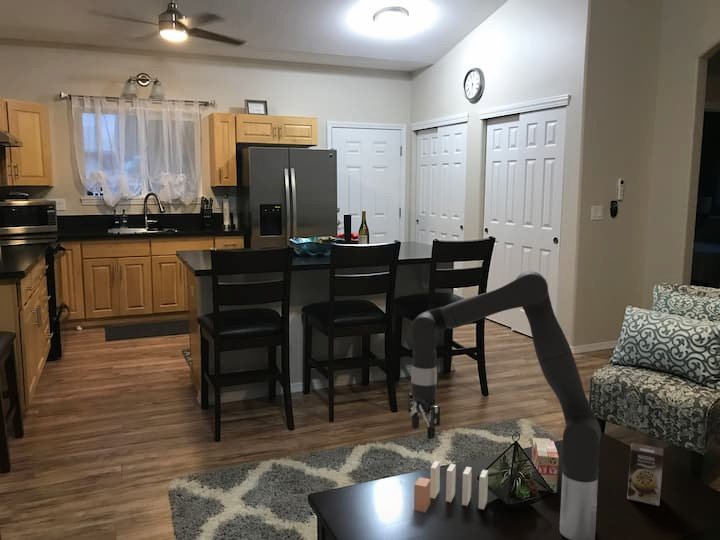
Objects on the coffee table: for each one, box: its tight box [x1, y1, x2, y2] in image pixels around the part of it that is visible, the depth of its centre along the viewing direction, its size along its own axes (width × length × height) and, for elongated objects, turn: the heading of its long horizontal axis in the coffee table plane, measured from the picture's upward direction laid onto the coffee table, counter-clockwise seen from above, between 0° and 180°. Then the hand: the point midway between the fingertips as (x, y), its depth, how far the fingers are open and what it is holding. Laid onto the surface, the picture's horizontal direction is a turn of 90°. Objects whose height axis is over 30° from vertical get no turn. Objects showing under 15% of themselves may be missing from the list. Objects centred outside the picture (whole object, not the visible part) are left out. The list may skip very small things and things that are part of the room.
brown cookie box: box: [626, 442, 665, 507], centre depth 180 cm, size 9×6×16 cm
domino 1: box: [413, 476, 431, 513], centre depth 174 cm, size 4×5×8 cm
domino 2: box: [429, 460, 441, 500], centre depth 181 cm, size 2×5×10 cm, turn 157°
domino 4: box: [461, 466, 473, 507], centre depth 178 cm, size 2×5×10 cm, turn 157°
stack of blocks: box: [531, 437, 560, 494], centre depth 193 cm, size 21×6×12 cm, turn 168°
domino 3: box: [445, 463, 457, 503], centre depth 179 cm, size 2×5×10 cm, turn 157°
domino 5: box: [478, 469, 489, 510], centre depth 176 cm, size 2×5×10 cm, turn 157°
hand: (422, 433), depth 173 cm, fingers open, 8 cm apart
